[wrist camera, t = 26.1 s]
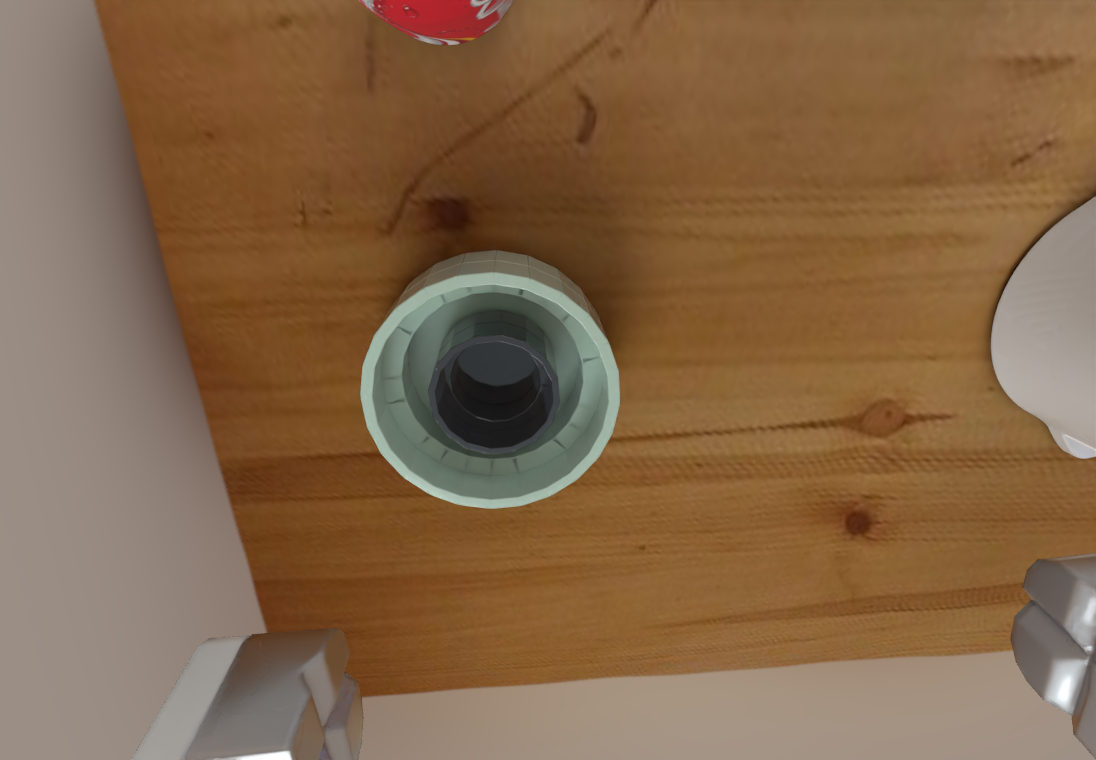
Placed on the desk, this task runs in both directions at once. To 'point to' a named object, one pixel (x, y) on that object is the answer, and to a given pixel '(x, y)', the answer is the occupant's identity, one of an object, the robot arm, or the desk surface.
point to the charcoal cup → (495, 383)
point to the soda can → (440, 18)
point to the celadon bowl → (410, 356)
